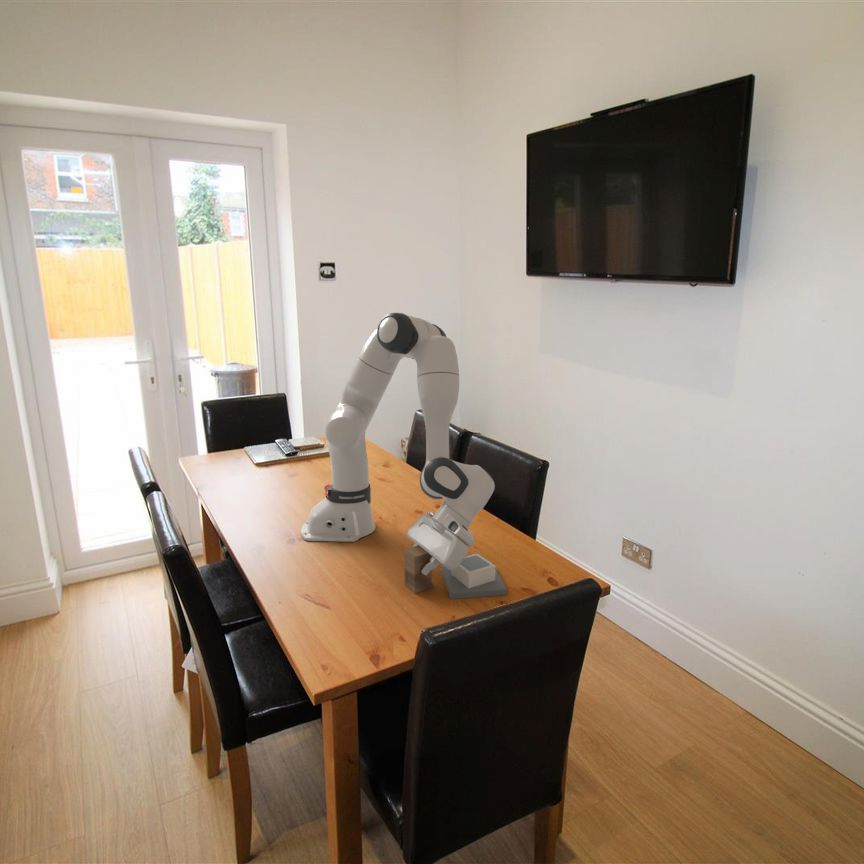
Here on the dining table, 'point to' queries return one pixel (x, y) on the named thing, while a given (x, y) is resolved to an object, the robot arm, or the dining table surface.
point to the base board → (473, 591)
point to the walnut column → (417, 569)
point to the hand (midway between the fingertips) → (416, 567)
